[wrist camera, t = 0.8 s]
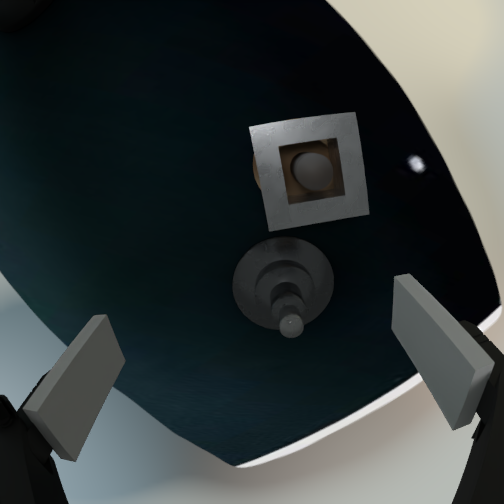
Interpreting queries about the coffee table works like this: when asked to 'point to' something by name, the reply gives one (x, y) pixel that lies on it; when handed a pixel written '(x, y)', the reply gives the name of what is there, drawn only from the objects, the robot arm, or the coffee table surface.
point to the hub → (283, 284)
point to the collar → (341, 157)
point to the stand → (304, 167)
